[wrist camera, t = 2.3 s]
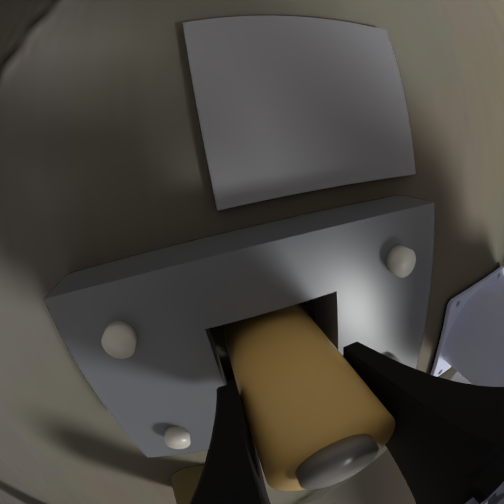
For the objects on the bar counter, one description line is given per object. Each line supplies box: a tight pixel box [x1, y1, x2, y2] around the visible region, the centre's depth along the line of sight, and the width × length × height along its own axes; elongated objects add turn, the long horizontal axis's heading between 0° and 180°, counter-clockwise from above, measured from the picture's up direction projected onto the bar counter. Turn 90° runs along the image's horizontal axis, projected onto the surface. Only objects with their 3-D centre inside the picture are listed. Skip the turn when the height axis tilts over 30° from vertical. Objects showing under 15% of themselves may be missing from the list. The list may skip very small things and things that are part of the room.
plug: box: [224, 303, 395, 491], centre depth 9 cm, size 4×4×8 cm
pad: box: [183, 16, 416, 210], centre depth 10 cm, size 10×8×1 cm
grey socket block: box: [44, 195, 435, 458], centre depth 11 cm, size 16×10×3 cm, turn 100°
